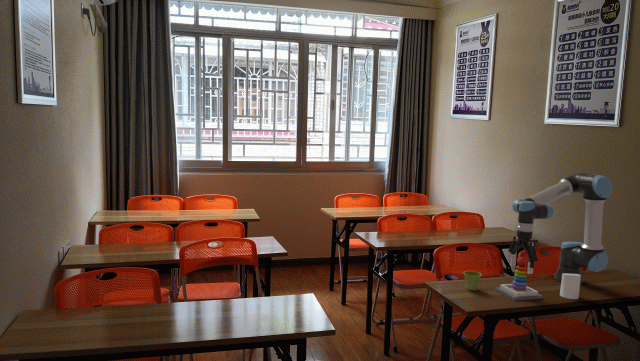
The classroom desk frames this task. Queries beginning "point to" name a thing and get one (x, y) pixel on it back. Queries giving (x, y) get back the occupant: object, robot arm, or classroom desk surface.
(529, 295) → the board
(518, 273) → the stacking toy
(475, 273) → the plant pot
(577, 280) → the cylinder with rectangular tab
